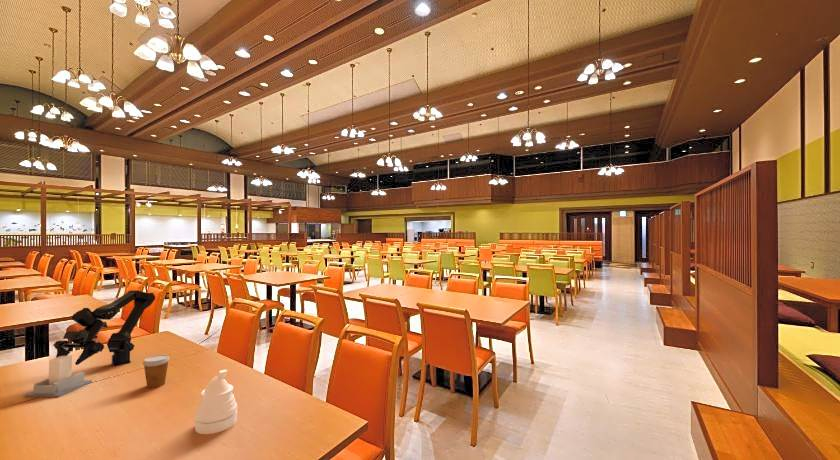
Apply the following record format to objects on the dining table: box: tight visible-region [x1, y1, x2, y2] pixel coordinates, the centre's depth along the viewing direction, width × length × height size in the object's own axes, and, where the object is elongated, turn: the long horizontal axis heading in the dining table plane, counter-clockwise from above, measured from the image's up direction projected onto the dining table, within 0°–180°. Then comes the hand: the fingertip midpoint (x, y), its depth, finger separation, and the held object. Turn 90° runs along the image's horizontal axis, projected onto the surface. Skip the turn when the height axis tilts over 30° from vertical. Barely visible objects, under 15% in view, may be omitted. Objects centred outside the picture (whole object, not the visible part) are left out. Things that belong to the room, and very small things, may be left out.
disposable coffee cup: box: [142, 354, 171, 389], centre depth 152 cm, size 10×10×12 cm
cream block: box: [48, 355, 73, 385], centre depth 147 cm, size 5×4×12 cm
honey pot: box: [194, 369, 238, 435], centre depth 121 cm, size 13×13×18 cm
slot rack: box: [24, 371, 93, 398], centre depth 147 cm, size 14×14×5 cm
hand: (65, 364), depth 149 cm, fingers open, 9 cm apart
